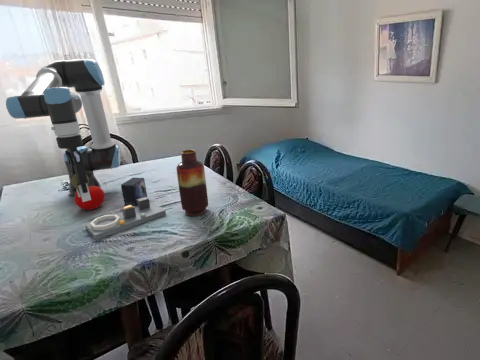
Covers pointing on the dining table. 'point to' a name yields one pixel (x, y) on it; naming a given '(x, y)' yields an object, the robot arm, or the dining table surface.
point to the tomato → (95, 195)
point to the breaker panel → (122, 221)
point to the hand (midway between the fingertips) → (84, 198)
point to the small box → (133, 191)
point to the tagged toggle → (128, 211)
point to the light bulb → (75, 181)
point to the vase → (192, 184)
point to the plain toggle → (143, 203)
